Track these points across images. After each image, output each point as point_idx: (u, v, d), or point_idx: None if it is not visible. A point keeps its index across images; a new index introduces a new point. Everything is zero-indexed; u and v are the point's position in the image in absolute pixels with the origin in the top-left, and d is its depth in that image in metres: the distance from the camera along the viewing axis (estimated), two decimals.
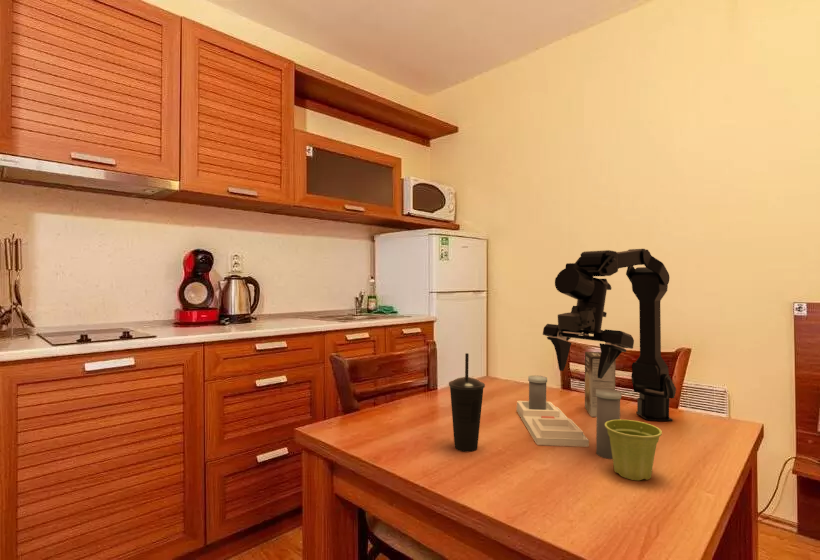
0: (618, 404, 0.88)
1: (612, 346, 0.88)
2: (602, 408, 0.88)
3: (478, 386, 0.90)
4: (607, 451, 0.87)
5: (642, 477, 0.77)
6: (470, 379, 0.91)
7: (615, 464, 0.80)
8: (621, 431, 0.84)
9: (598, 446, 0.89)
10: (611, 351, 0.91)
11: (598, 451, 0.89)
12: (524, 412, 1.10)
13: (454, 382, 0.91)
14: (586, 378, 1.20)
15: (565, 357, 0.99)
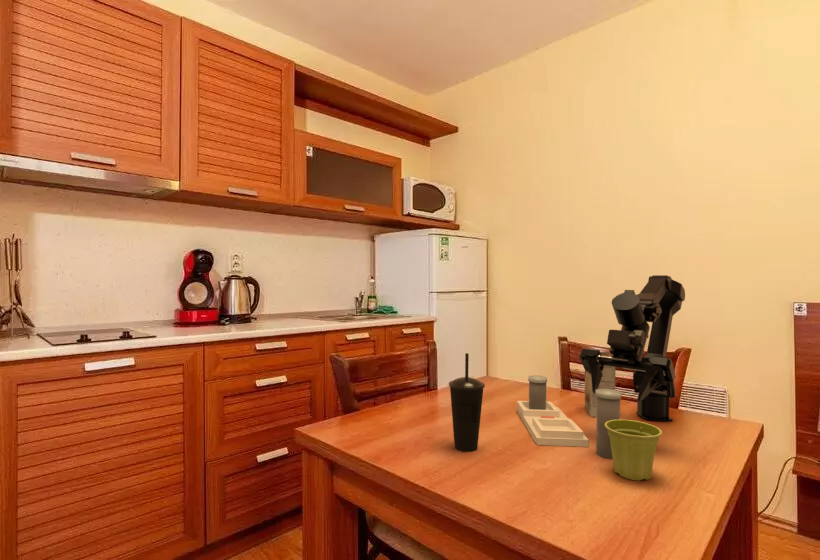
0: (618, 404, 0.88)
1: (660, 368, 0.90)
2: (602, 408, 0.88)
3: (478, 386, 0.90)
4: (607, 451, 0.87)
5: (642, 477, 0.77)
6: (470, 379, 0.91)
7: (615, 464, 0.80)
8: (621, 431, 0.84)
9: (598, 446, 0.89)
10: (652, 379, 0.92)
11: (598, 451, 0.89)
12: (524, 412, 1.10)
13: (454, 382, 0.91)
14: (586, 378, 1.20)
15: (598, 382, 0.98)
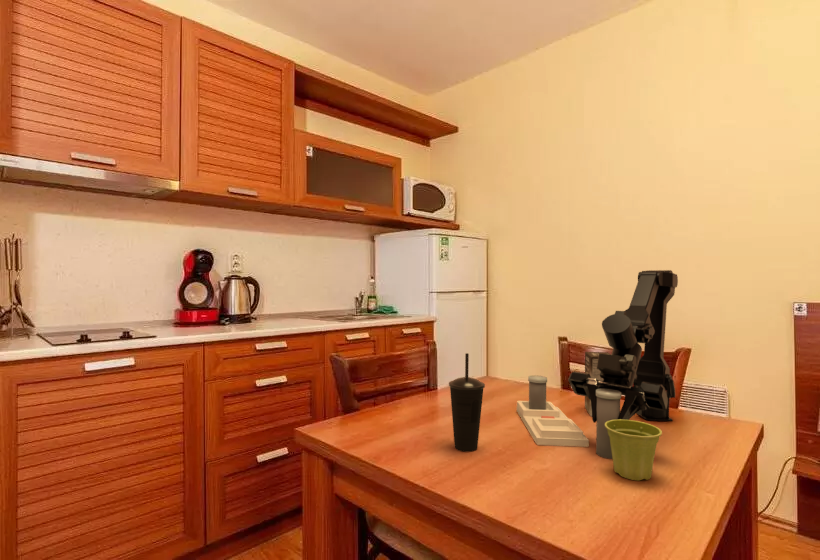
0: (618, 404, 0.88)
1: (639, 394, 0.87)
2: (602, 408, 0.88)
3: (478, 386, 0.89)
4: (607, 451, 0.87)
5: (642, 477, 0.77)
6: (470, 379, 0.91)
7: (615, 464, 0.80)
8: (621, 431, 0.84)
9: (598, 446, 0.89)
10: (632, 404, 0.89)
11: (598, 451, 0.89)
12: (524, 412, 1.10)
13: (454, 382, 0.91)
14: None
15: None
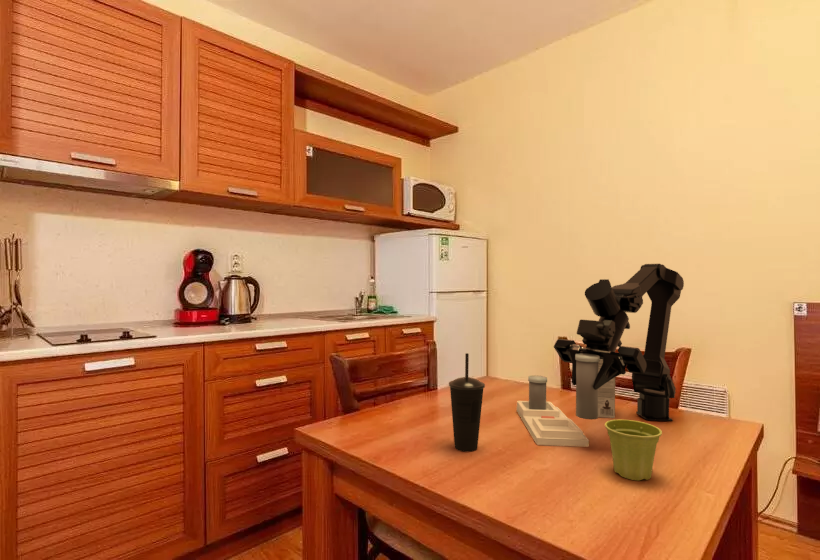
0: (595, 367, 0.91)
1: (616, 357, 0.89)
2: (580, 371, 0.91)
3: (478, 386, 0.90)
4: (584, 412, 0.91)
5: (642, 477, 0.77)
6: (470, 379, 0.91)
7: (615, 464, 0.80)
8: (621, 431, 0.84)
9: (576, 407, 0.92)
10: (611, 368, 0.92)
11: (576, 412, 0.92)
12: (524, 412, 1.10)
13: (454, 382, 0.91)
14: None
15: None
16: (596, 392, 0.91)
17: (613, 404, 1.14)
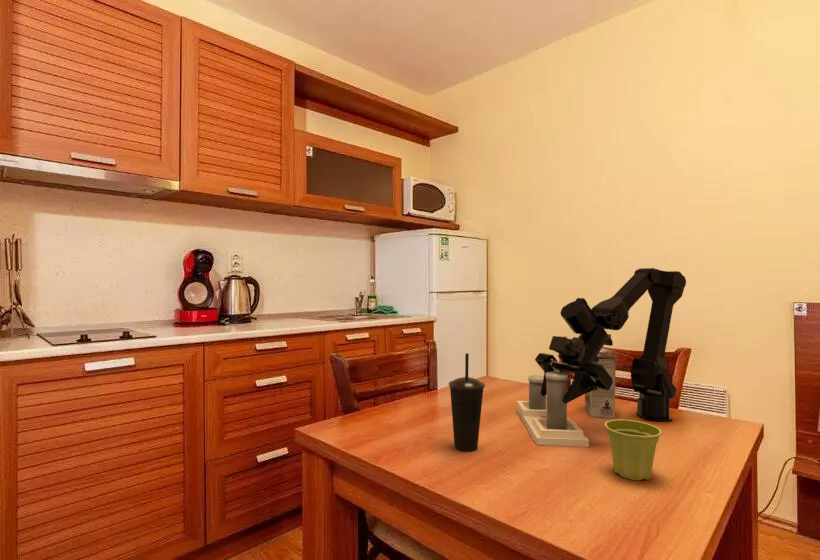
0: (562, 385, 0.97)
1: (585, 373, 0.94)
2: (548, 388, 0.98)
3: (478, 386, 0.89)
4: (551, 426, 0.97)
5: (642, 477, 0.77)
6: (470, 379, 0.91)
7: (615, 464, 0.80)
8: (621, 431, 0.84)
9: None
10: (584, 384, 0.96)
11: (547, 427, 0.99)
12: (524, 412, 1.10)
13: (454, 382, 0.91)
14: None
15: None
16: (563, 409, 0.97)
17: (613, 404, 1.14)
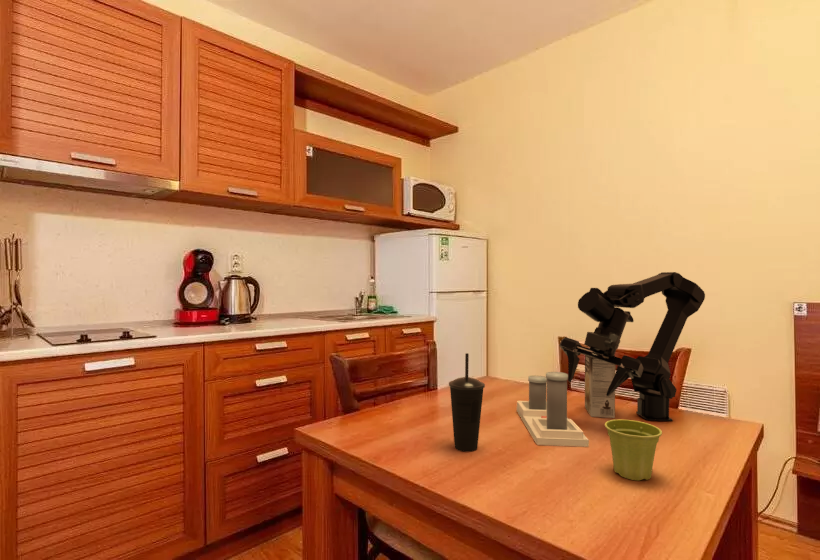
0: (562, 385, 0.97)
1: (629, 371, 0.99)
2: (548, 388, 0.98)
3: (478, 386, 0.89)
4: (551, 426, 0.97)
5: (642, 477, 0.77)
6: (470, 379, 0.91)
7: (615, 464, 0.80)
8: (621, 431, 0.84)
9: None
10: None
11: (547, 427, 0.99)
12: (524, 412, 1.10)
13: (454, 382, 0.91)
14: (586, 378, 1.20)
15: (574, 370, 1.09)
16: (563, 409, 0.97)
17: (613, 404, 1.14)
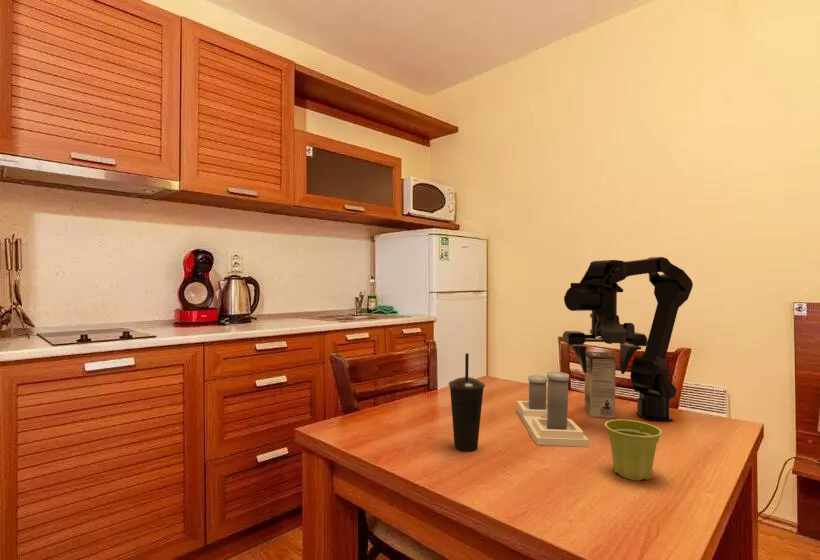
0: (563, 385, 0.97)
1: None
2: (549, 388, 0.98)
3: (478, 386, 0.89)
4: (551, 426, 0.97)
5: (642, 477, 0.77)
6: (470, 379, 0.91)
7: (615, 464, 0.80)
8: (621, 431, 0.84)
9: (547, 422, 0.99)
10: None
11: (547, 426, 0.99)
12: (524, 412, 1.10)
13: (454, 382, 0.91)
14: (586, 378, 1.20)
15: None
16: (564, 409, 0.97)
17: (613, 404, 1.14)
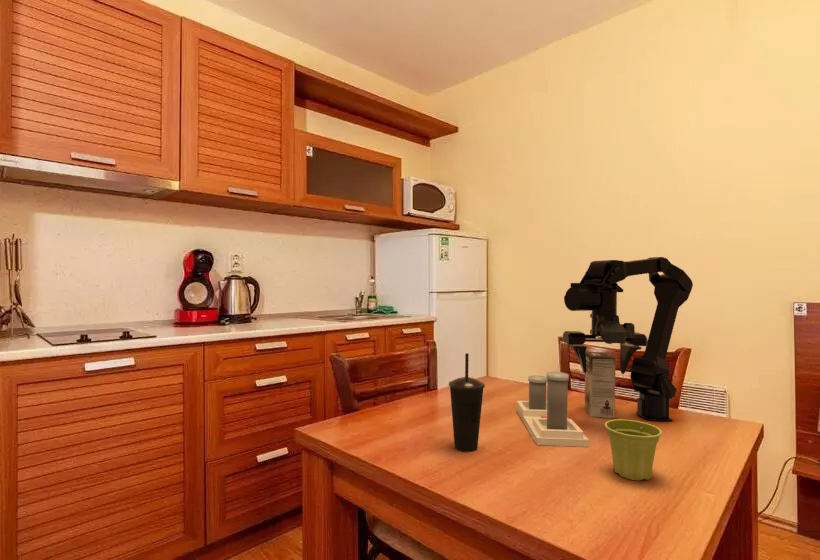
0: (563, 385, 0.97)
1: None
2: (549, 388, 0.98)
3: (478, 386, 0.89)
4: (551, 426, 0.97)
5: (642, 477, 0.77)
6: (470, 379, 0.91)
7: (615, 464, 0.80)
8: (621, 431, 0.84)
9: (547, 422, 0.99)
10: None
11: (547, 426, 0.99)
12: (524, 412, 1.10)
13: (454, 382, 0.91)
14: (586, 378, 1.20)
15: None
16: (563, 409, 0.97)
17: (613, 404, 1.14)
